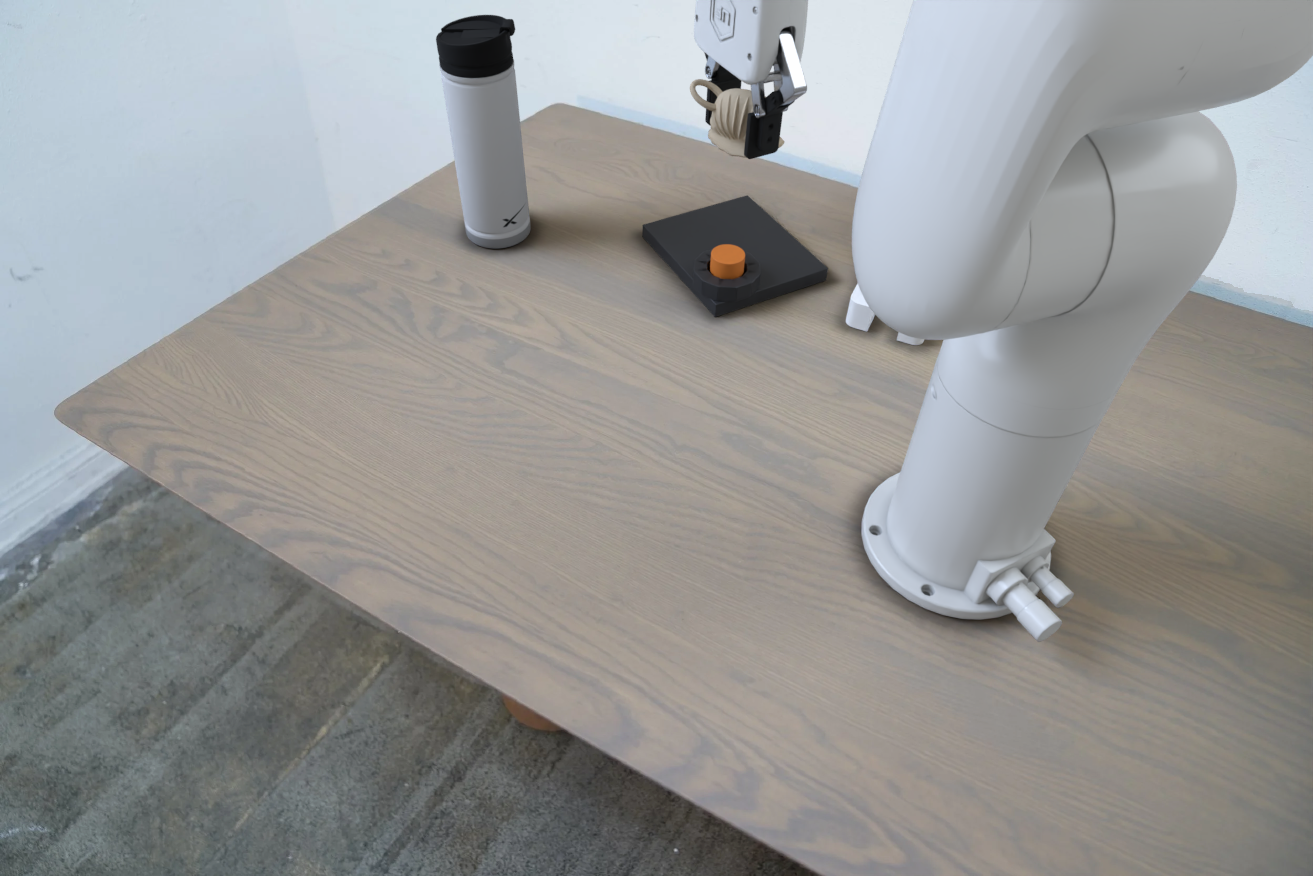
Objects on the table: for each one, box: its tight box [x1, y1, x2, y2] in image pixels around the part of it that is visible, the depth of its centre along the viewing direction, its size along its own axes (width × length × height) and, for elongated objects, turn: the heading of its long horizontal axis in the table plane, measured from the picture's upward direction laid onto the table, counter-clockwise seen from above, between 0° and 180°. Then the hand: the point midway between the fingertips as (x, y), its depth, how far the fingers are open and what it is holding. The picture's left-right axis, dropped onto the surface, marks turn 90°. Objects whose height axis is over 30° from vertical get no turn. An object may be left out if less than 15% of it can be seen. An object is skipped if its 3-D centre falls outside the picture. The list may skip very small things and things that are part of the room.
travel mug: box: [435, 14, 531, 249], centre depth 81 cm, size 6×7×20 cm
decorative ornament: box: [689, 78, 785, 159], centre depth 78 cm, size 4×8×5 cm, turn 67°
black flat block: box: [641, 195, 829, 318], centre depth 84 cm, size 14×12×3 cm
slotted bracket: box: [845, 282, 925, 346], centre depth 79 cm, size 13×7×8 cm, turn 155°
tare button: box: [710, 244, 745, 279], centre depth 79 cm, size 3×3×2 cm
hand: (740, 135), depth 80 cm, fingers closed on decorative ornament, 5 cm apart
